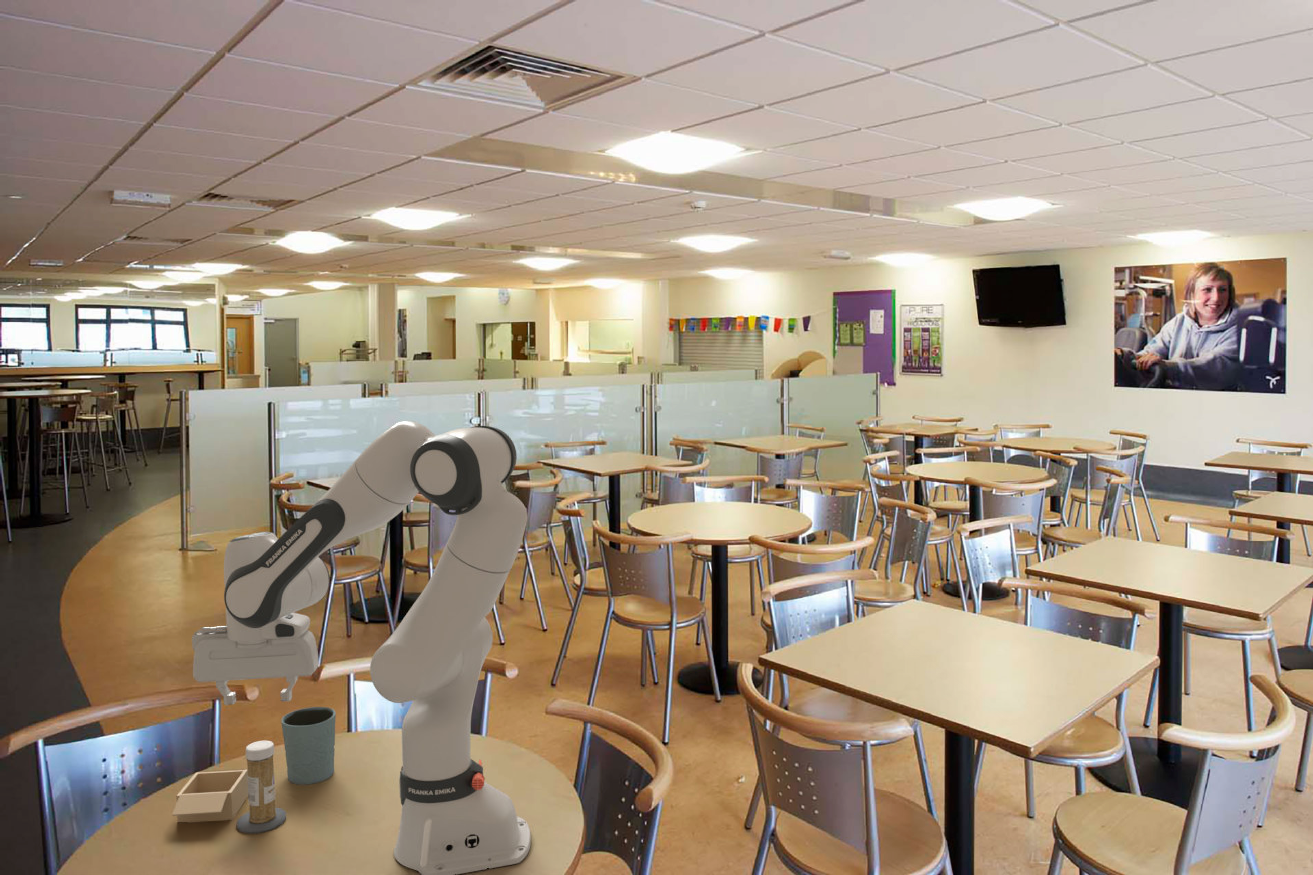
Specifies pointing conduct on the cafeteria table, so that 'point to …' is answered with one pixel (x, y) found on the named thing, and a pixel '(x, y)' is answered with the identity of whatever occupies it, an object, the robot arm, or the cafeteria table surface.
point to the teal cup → (309, 744)
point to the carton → (212, 796)
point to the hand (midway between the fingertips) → (258, 701)
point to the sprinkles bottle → (261, 781)
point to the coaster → (250, 827)
